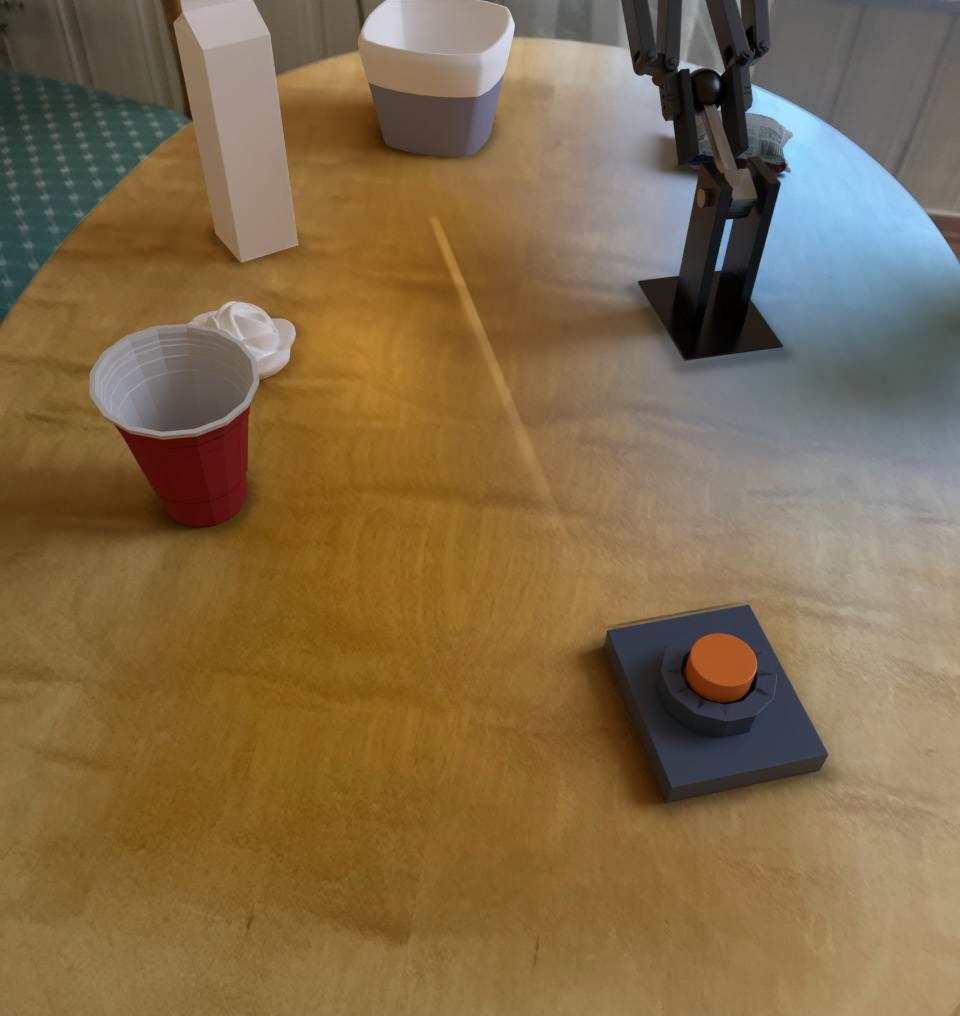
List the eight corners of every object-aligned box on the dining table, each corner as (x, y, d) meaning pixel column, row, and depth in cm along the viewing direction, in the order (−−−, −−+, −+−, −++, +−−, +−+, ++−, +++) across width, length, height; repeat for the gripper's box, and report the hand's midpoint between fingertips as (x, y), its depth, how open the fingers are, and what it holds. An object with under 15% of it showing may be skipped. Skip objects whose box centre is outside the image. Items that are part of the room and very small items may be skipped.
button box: (602, 650, 67) (609, 612, 64) (742, 624, 69) (755, 585, 65) (664, 806, 60) (676, 772, 57) (818, 773, 61) (838, 738, 58)
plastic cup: (192, 582, 70) (151, 451, 60) (104, 504, 74) (54, 371, 65) (312, 505, 75) (292, 372, 65) (223, 436, 79) (192, 302, 70)
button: (675, 656, 62) (680, 639, 61) (735, 645, 63) (741, 627, 62) (699, 708, 60) (704, 692, 58) (761, 696, 60) (768, 679, 59)
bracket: (636, 291, 93) (660, 141, 82) (727, 280, 94) (762, 131, 83) (682, 371, 86) (716, 218, 75) (780, 357, 87) (826, 205, 76)
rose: (147, 311, 82) (237, 261, 87) (160, 357, 85) (245, 306, 90) (231, 361, 78) (320, 305, 83) (240, 406, 82) (325, 351, 86)
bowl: (350, 157, 107) (340, 44, 98) (392, 94, 116) (386, -14, 108) (490, 177, 105) (493, 63, 96) (521, 111, 114) (527, 2, 106)
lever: (669, 94, 85) (682, 59, 81) (709, 90, 85) (724, 55, 82) (711, 226, 82) (727, 195, 78) (752, 221, 82) (769, 190, 79)
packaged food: (680, 138, 111) (688, 91, 107) (788, 151, 110) (801, 104, 106) (673, 177, 106) (681, 130, 102) (787, 191, 105) (800, 144, 101)
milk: (299, 249, 96) (266, -10, 79) (240, 267, 94) (194, 5, 77) (271, 219, 99) (234, -36, 82) (214, 236, 97) (163, -22, 80)
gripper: (753, -127, 85) (784, 163, 88) (564, -116, 82) (603, 182, 85) (797, -189, 77) (829, 129, 81) (590, -179, 75) (632, 150, 78)
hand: (713, 156), depth 83 cm, fingers closed on lever, 4 cm apart
